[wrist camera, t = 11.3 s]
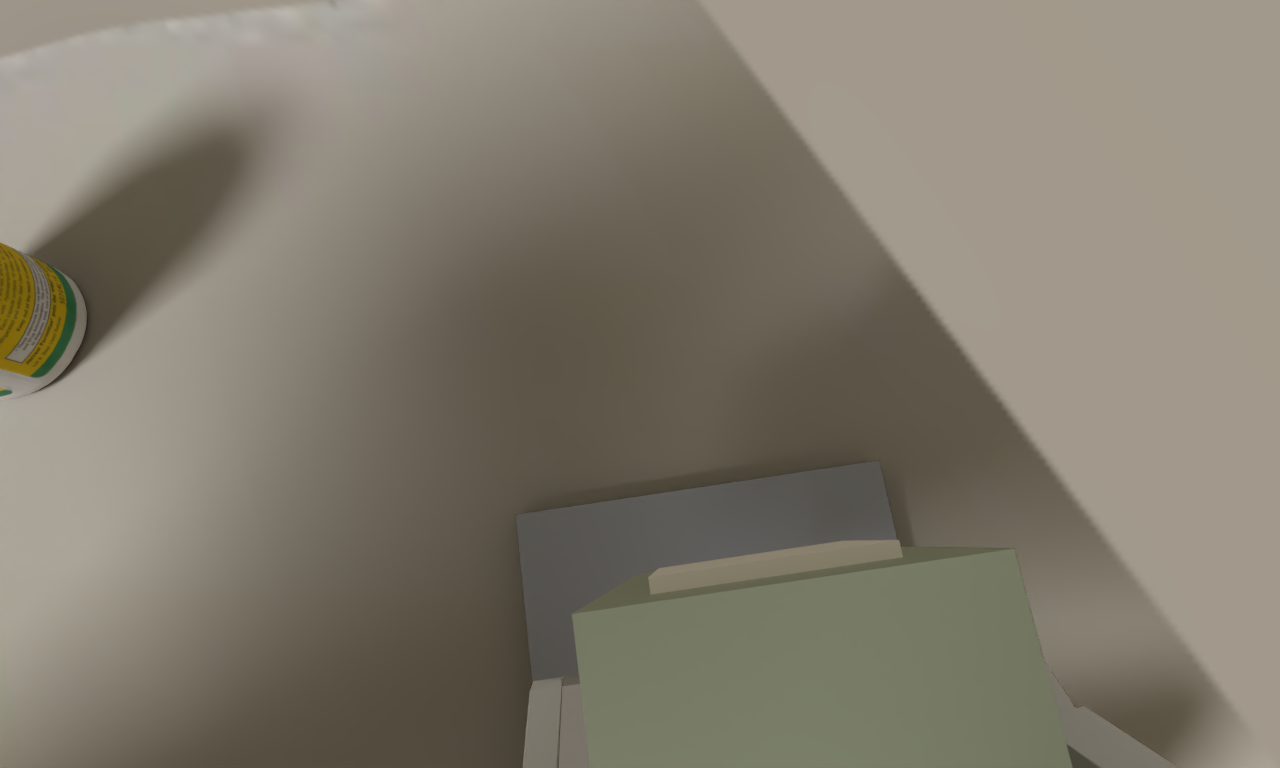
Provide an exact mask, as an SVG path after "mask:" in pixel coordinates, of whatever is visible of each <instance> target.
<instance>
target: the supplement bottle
mask: <svg viewBox="0 0 1280 768" xmlns="http://www.w3.org/2000/svg"><path fill="white" fill-rule="evenodd" d="M86 324H87V312H86V306H85V303H84V299H83V297H82V295H81V292H80V290H79V289H78V287H77V286H76V284H75V283H74V282H73V280H72V279H70V278H69V277H68V276H67V275H65V274H64V273H62V272H61V271H59V270H58V269H56V268H54V267H52V266H50V265H47V264H46V263H44V262H42V261H39V260H37V259H35V258H33V257H31V256H28V255H26V254H24V253H22V252H20V251H17V250H15V249H13V248H11V247H9V246H7V245H5V244H2V243H0V400H4V399H13V398H17V397H21V396H25V395H28V394H30V393H33V392H35V391H37V390H39V389H41V388H43V387H44V386H46V385H48V384H49V383H50V382H52V381H53V380H54V379H56V378H57V377H58V376H59V375H60V374H61V373H62V372H63V371H64V370H65V369H66V367H67V366H68V365H69V364H70V362H71V361H72V359H73V357H74V355H75V354H76V352H77V350H78V349H79V347H80V345H81V343H82V340H83V337H84V334H85V330H86Z"/></svg>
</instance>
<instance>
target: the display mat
mask: <svg viewBox="0 0 1280 768" xmlns="http://www.w3.org/2000/svg"><path fill="white" fill-rule="evenodd" d="M516 525H517V535H518V546H519V556H520V566H521V576H522V586H523V596H524V606H525V616H526V626H527V636H528V646H529V656H530V666H531V676H532V683H533V681H538V680H545V679H552V678H559V677H569V676H576V675H579V670H578V662H577V653H576V645H575V636H574V628H573V619H572V614H573V613H574V612H576V611H578V610H579V609H581V608H583V607H584V606H586V605H587V604H589V603H591V602H592V601H594V600H596V599H597V598H599V597H600V596H602V595H604V594H605V593H607V592H609V591H610V590H612V589H614V588H615V587H617V586H618V585H620V584H622V583H623V582H625V581H627V580H628V579H630V578H631V577H633V576H635V575H636V574H642V573H649V572H655V571H656V570H657V569H658V568H664V567H670V566H677V565H684V564H690V563H697V562H704V561H710V560H717V559H724V558H730V557H737V556H744V555H750V554H757V553H764V552H771V551H777V550H784V549H791V548H797V547H804V546H811V545H817V544H824V543H831V542H837V541H851V540H897V536H896V532H895V527H894V523H893V518H892V514H891V510H890V505H889V501H888V496H887V492H886V487H885V483H884V479H883V474H882V470H881V465H880V461H879V460H878V461H871V462H865V463H858V464H851V465H845V466H838V467H831V468H825V469H818V470H811V471H804V472H798V473H791V474H784V475H778V476H771V477H764V478H758V479H751V480H744V481H737V482H731V483H724V484H717V485H711V486H704V487H697V488H691V489H684V490H677V491H670V492H664V493H657V494H650V495H644V496H637V497H630V498H624V499H617V500H610V501H603V502H597V503H590V504H583V505H577V506H570V507H563V508H557V509H550V510H543V511H537V512H530V513H523V514H516Z"/></svg>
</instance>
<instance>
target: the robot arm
mask: <svg viewBox="0 0 1280 768" xmlns="http://www.w3.org/2000/svg"><path fill="white" fill-rule="evenodd" d="M1044 662H1045V660H1044ZM1045 665H1046V669H1047V673H1048V677H1049V680H1050V684H1051V688H1052V692H1053V696H1054V699H1055V703H1056V707H1057V711H1058V714H1059V718H1060V722H1061V726H1062V729H1063V733H1064V737H1065V741H1066V744H1067V748H1068V752H1069V756H1070V759H1071V763H1072V767H1073V768H1178V767H1177V766H1175V765H1174V764H1172V763H1171V762H1169V761H1168V760H1166V759H1165V758H1163V757H1162V756H1160V755H1158V754H1157V753H1155V752H1154V751H1152V750H1151V749H1149V748H1148V747H1146V746H1145V745H1143V744H1142V743H1140V742H1139V741H1137V740H1136V739H1134V738H1133V737H1131V736H1129V735H1128V734H1126V733H1125V732H1123V731H1122V730H1120V729H1119V728H1117V727H1116V726H1114V725H1113V724H1111V723H1110V722H1108V721H1107V720H1105V719H1104V718H1102V717H1101V716H1099V715H1097V714H1096V713H1094V712H1093V711H1091V710H1090V709H1088V708H1087V707H1077V708H1075V706H1074V705H1073V703H1072V702H1071V700H1070V699H1069V697H1068V696H1067V694H1066V693H1065V691H1064V690H1063V688H1062V686H1061V685H1060V683H1059V682H1058V680H1057V679H1056V677H1055V676H1054V674H1053V673H1052V671H1051V670H1050V668H1049V666H1048V665H1047V663H1046V662H1045ZM523 768H590V764H589V756H588V747H587V739H586V730H585V721H584V713H583V704H582V696H581V687H580V679H579V675H576V676H569V677H559V678H552V679H545V680H538V681H533V683H532V686H531V689H530V693H529V703H528V714H527V725H526V736H525V747H524V757H523Z"/></svg>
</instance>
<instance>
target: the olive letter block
mask: <svg viewBox="0 0 1280 768" xmlns="http://www.w3.org/2000/svg"><path fill="white" fill-rule="evenodd" d="M572 619H573V628H574V636H575V645H576V653H577V662H578V670H579V679H580V687H581V696H582V704H583V713H584V721H585V730H586V739H587V747H588V756H589V764H590V768H1073V767H1072V763H1071V759H1070V756H1069V752H1068V748H1067V744H1066V741H1065V737H1064V733H1063V729H1062V726H1061V722H1060V718H1059V714H1058V711H1057V707H1056V703H1055V699H1054V696H1053V692H1052V688H1051V684H1050V680H1049V677H1048V673H1047V669H1046V665H1045V662H1044V658H1043V654H1042V650H1041V647H1040V643H1039V639H1038V635H1037V632H1036V628H1035V624H1034V620H1033V617H1032V613H1031V609H1030V605H1029V602H1028V598H1027V594H1026V590H1025V587H1024V583H1023V579H1022V575H1021V572H1020V568H1019V564H1018V560H1017V557H1016V553H1015V549H1011V548H957V547H903V546H900V542H899V540H851V541H837V542H831V543H824V544H817V545H811V546H804V547H797V548H791V549H784V550H777V551H771V552H764V553H757V554H750V555H744V556H737V557H730V558H724V559H717V560H710V561H704V562H697V563H690V564H684V565H677V566H670V567H664V568H658V569H657V570H656V571H655V572H649V573H642V574H636V575H635V576H633V577H631V578H630V579H628V580H627V581H625V582H623V583H622V584H620V585H618V586H617V587H615V588H614V589H612V590H610V591H609V592H607V593H605V594H604V595H602V596H600V597H599V598H597V599H596V600H594V601H592V602H591V603H589V604H587V605H586V606H584V607H583V608H581V609H579V610H578V611H576V612H574V613H573V614H572Z"/></svg>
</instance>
